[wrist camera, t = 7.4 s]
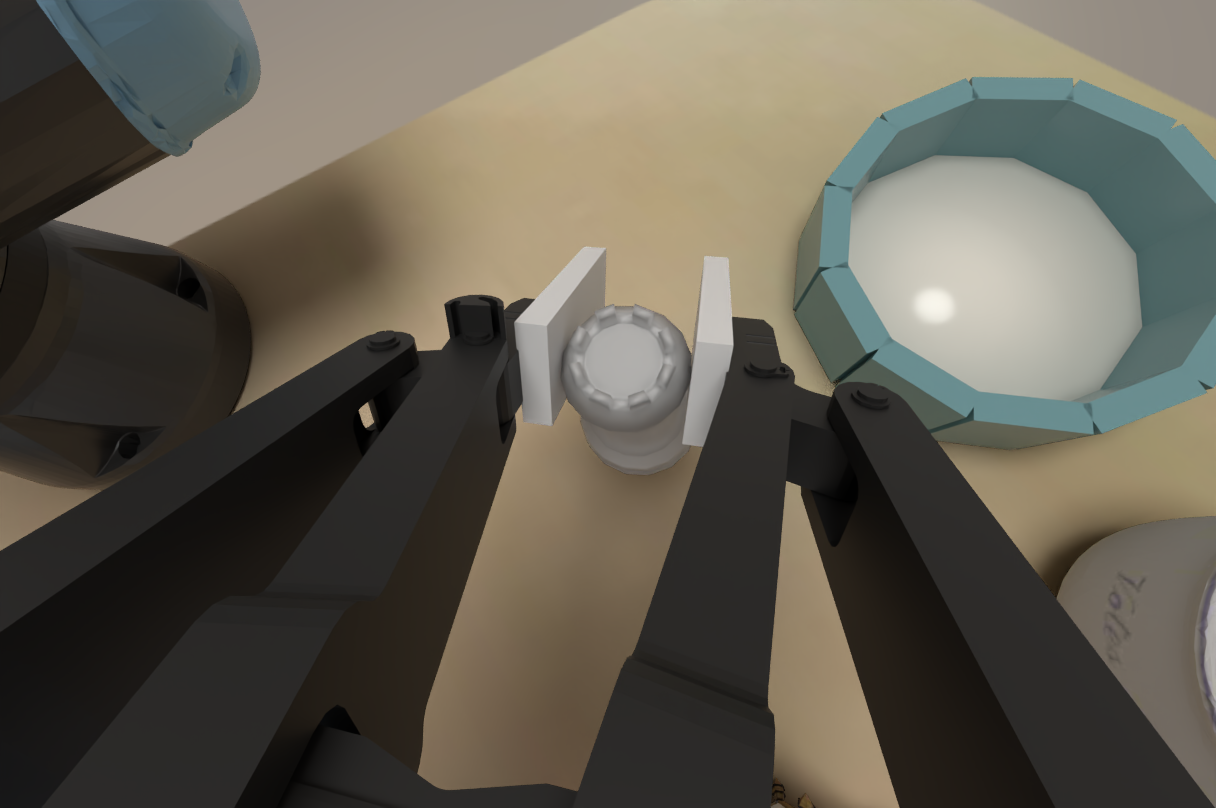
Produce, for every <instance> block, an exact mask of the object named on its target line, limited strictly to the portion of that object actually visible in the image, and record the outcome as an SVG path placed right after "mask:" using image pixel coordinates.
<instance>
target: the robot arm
mask: <svg viewBox="0 0 1216 808" xmlns="http://www.w3.org/2000/svg"><path fill="white" fill-rule="evenodd" d="M260 72H261V71H260V59H259V53H258V49H257V45H256V41H255V38H254V35H253V32H252V30H251V27H250V25H249V22H248V20H247V18H246V15H245V13H244V11H243V9H242V6H241V4H240V2H239V0H0V471H3V472H6V473H9V474H12V475H15V476H18V477H22V478H25V479H28V480H31V481H34V482H37V483H40V484H44V485H48V486H54V487H60V488H71V489H93V490H103V491H101V492H100V493H98V494H96V495H95V496H93V497H91V498H89V499H88V500H86V501H84V502H83V503H81V504H79V505H78V506H76V507H74V508H72V509H71V510H69V511H67V512H66V513H64V514H62V515H61V516H59V517H57V518H55V519H54V520H52V521H50V522H49V523H47V524H45V525H44V526H42V527H40V528H38V529H37V530H35V531H33V532H32V533H30V534H28V535H27V536H25V537H23V538H22V539H20V540H18V541H16V542H15V543H13V544H11V545H10V546H8V547H6V548H5V549H3V550H1V551H0V808H771V798H772V783H773V768H774V750H775V724H774V714H773V713H772V712H771V710H770V709H769V708H768V684H769V672H770V660H771V649H772V637H773V625H774V614H775V602H776V591H777V579H778V567H779V556H780V544H781V532H782V521H783V509H784V497H785V486H786V481H788V482H791V483H794V484H797V485H799V486H801V496H802V499H803V502H804V505H805V509H806V512H807V515H808V518H809V521H810V524H811V528H812V531H813V534H814V537H815V540H816V544H817V547H818V550H819V553H820V556H821V559H822V563H823V566H824V569H825V572H826V575H827V578H828V582H829V585H830V588H831V591H832V594H833V598H834V601H835V604H836V607H837V610H838V613H839V617H840V620H841V623H842V626H843V629H844V633H845V636H846V639H847V642H848V645H849V648H850V652H851V655H852V658H853V661H854V664H855V667H856V671H857V674H858V677H859V680H860V683H861V687H862V690H863V693H864V696H865V699H866V702H867V706H868V709H869V712H870V715H871V718H872V721H873V725H874V728H875V731H876V734H877V737H878V741H879V744H880V747H881V750H882V753H883V756H884V760H885V763H886V766H887V769H888V772H889V775H890V779H891V782H892V785H893V788H894V791H895V795H896V798H897V801H898V804H899V807H900V808H1215V807H1214V806H1213V804H1212V803H1211V802H1210V800H1209V799H1208V798H1207V796H1206V795H1205V794H1204V792H1203V791H1202V790H1201V788H1200V787H1199V786H1198V785H1197V783H1196V782H1195V781H1194V779H1193V778H1192V777H1191V775H1190V774H1189V773H1188V771H1187V770H1186V769H1185V767H1184V766H1183V765H1182V764H1181V762H1180V761H1179V760H1178V758H1177V757H1176V756H1175V754H1174V753H1173V752H1172V750H1171V749H1170V748H1169V746H1168V745H1167V744H1166V742H1165V741H1164V740H1163V739H1162V737H1161V736H1160V735H1159V733H1158V732H1157V731H1156V729H1155V728H1154V727H1153V725H1152V724H1151V723H1150V721H1149V720H1148V719H1147V717H1146V716H1145V715H1144V714H1143V712H1142V711H1141V710H1140V708H1139V707H1138V706H1137V704H1136V703H1135V702H1134V700H1133V699H1132V698H1131V696H1130V695H1129V694H1128V692H1127V691H1126V690H1125V689H1124V687H1123V686H1122V685H1121V683H1120V682H1119V681H1118V679H1117V678H1116V677H1115V675H1114V674H1113V673H1112V671H1111V670H1110V669H1109V668H1108V666H1107V665H1106V664H1105V662H1104V661H1103V660H1102V658H1101V657H1100V656H1099V654H1098V653H1097V652H1096V650H1095V649H1094V648H1093V646H1092V645H1091V644H1090V643H1089V641H1088V640H1087V639H1086V637H1085V636H1084V635H1083V633H1082V632H1081V631H1080V629H1079V628H1078V627H1077V625H1076V624H1075V623H1074V621H1073V620H1072V619H1071V618H1070V616H1069V615H1068V614H1067V612H1066V611H1065V610H1064V608H1063V607H1062V606H1061V604H1060V603H1059V602H1058V600H1057V599H1056V598H1055V596H1054V595H1053V594H1052V593H1051V591H1050V590H1049V589H1048V587H1047V586H1046V585H1045V583H1044V582H1043V581H1042V579H1041V578H1040V577H1039V575H1038V574H1037V573H1036V572H1035V570H1034V569H1033V568H1032V566H1031V565H1030V564H1029V562H1028V561H1027V560H1026V558H1025V557H1024V556H1023V554H1022V553H1021V552H1020V550H1019V549H1018V548H1017V547H1016V545H1015V544H1014V543H1013V541H1012V540H1011V539H1010V537H1009V536H1008V535H1007V533H1006V532H1005V531H1004V529H1003V528H1002V527H1001V525H1000V524H999V523H998V522H997V520H996V519H995V518H994V516H993V515H992V514H991V512H990V511H989V510H988V508H987V507H986V506H985V504H984V503H983V502H982V500H981V499H980V498H979V497H978V495H977V494H976V493H975V491H974V490H973V489H972V487H971V486H970V485H969V483H968V482H967V481H966V479H965V478H964V477H963V476H962V474H961V473H960V472H959V470H958V469H957V468H956V466H955V465H954V464H953V462H952V461H951V460H950V458H949V457H948V456H947V454H946V453H945V452H944V451H943V449H942V448H941V447H940V445H939V444H938V443H937V441H936V440H935V439H934V437H933V436H932V435H931V433H930V432H929V431H928V429H927V428H926V427H925V426H924V424H923V423H922V422H921V420H920V419H919V418H918V416H917V415H916V414H915V412H914V411H913V410H912V408H911V407H910V406H909V404H908V403H907V402H906V401H905V400H904V399H903V398H902V397H901V396H899V395H898V394H896V393H894V392H892V391H891V390H889V389H888V388H886V387H884V386H881V385H879V386H878V384H874V383H864V382H846V383H842V384H839V385H838V386H837V387H836V388H835V389H834V392H833V395H832V397H829V396H825V395H821V394H818V393H814V392H812V391H809V390H806V389H803V388H801V387H799V386H797V385H796V384H794V381H795V375H794V372H793V370H792V369H791V368H790V367H788V366H787V365H786V364H784V363H782V362H781V360H780V356H779V351H778V347H777V346H776V345H777V343H776V339H775V335H774V330H773V328H772V327H771V326H770V325H769V324H768V323H766V322H765V321H764V320H760V319H749V318H739V317H732V311H731V294H730V277H729V260H728V258H726V257H713V256H705V257H704V264H703V271H702V279H701V286H700V294H699V301H698V308H697V316H696V323H695V330H694V339H693V348H692V362H691V379H690V385H689V387H688V395H687V404H686V413H685V423H684V432H683V441H682V444H685V445H693V446H700V447H703V449H702V452H701V455H700V458H699V461H698V464H697V467H696V470H695V473H694V476H693V479H692V482H691V485H690V488H689V491H688V494H687V497H686V500H685V503H684V506H683V509H682V512H681V515H680V518H679V521H678V524H677V527H676V530H675V533H674V536H673V539H672V542H671V545H670V548H669V551H668V554H667V557H666V559H665V562H664V565H663V568H662V571H661V574H660V577H659V580H658V583H657V586H656V589H655V592H654V595H653V598H652V601H651V604H650V607H649V610H648V613H647V616H646V619H645V622H644V625H643V628H642V631H641V634H640V637H639V640H638V643H637V645H636V648H635V650H634V652H633V654H632V655H631V656H629V657H628V658H627V659H626V661H625V663H624V665H623V667H622V669H621V672H620V674H619V677H618V679H617V682H616V685H615V687H614V690H613V693H612V696H611V699H610V701H609V704H608V707H607V710H606V713H605V716H604V719H603V721H602V724H601V727H600V730H599V733H598V736H597V739H596V741H595V744H594V747H593V750H592V753H591V756H590V759H589V761H588V764H587V767H586V770H585V773H584V776H583V779H582V782H581V784H580V787H579V790H578V792H577V791H573V790H569V789H565V788H562V787H558V786H554V785H550V784H534V785H520V786H505V787H491V788H477V789H463V790H443V789H439V788H437V787H435V786H433V785H432V784H430V783H429V782H428V781H426V780H425V779H423V778H422V777H421V776H419V775H418V774H417V772H418V768H419V764H420V758H421V752H422V745H423V721H424V715H425V709H426V706H427V702H428V698H429V695H430V692H431V689H432V686H433V683H434V680H435V677H436V674H437V671H438V668H439V665H440V662H441V659H442V656H443V653H444V650H445V647H446V643H447V640H448V637H449V634H450V631H451V628H452V625H453V622H454V619H455V616H456V613H457V610H458V607H459V604H460V601H461V598H462V595H463V592H464V589H465V585H466V582H467V579H468V576H469V573H470V570H471V567H472V564H473V561H474V558H475V555H476V552H477V549H478V546H479V543H480V540H481V537H482V534H483V531H484V528H485V524H486V521H487V518H488V515H489V512H490V509H491V506H492V503H493V500H494V497H495V494H496V491H497V488H498V485H499V482H500V479H501V476H502V473H503V470H504V467H505V463H506V460H507V457H508V454H509V451H510V448H511V445H512V442H513V439H514V436H515V433H516V419H515V413H516V412H517V410H518V409H519V407H520V405H521V404H522V411H523V422H527V423H534V424H541V425H548V426H552V425H553V423H554V421H555V419H556V418H557V416H558V414H559V412H560V410H561V408H562V406H563V404H564V402H565V400H566V398H567V396H566V393H565V390H564V387H563V384H562V381H561V378H560V377H561V365H562V356H563V352H564V350H565V348H566V346H567V344H568V342H569V340H570V338H571V336H572V334H573V332H574V331H575V330H576V329H577V327H578V325H579V326H581V325H582V324H583V323H584V322H585V321H586V320H587V319H589V318H590V317H591V316H592V315H594V314H595V313H594V311H596V310H599V309H602V308H604V307H605V277H606V248H597V247H583V248H582V249H581V250H580V252H579V253H578V254H577V255H576V256H575V257H574V258H573V259H572V260H571V261H570V262H569V263H568V265H567V266H566V267H565V268H564V269H563V270H562V271H561V272H560V273H559V274H558V275H557V276H556V278H555V279H554V280H553V281H552V282H551V283H550V284H549V285H548V286H547V287H546V288H545V289H544V291H543V292H542V293H541V294H540V295H539V296H538V297H537V298H536V299H528V298H523V299H521V300H518V301H516V302H514V303H511V304H510V305H509V306H508V307H507V308H506V309H505V310H504V304H503V301H502V300H500V299H499V298H496V297H493V296H488V295H468V296H462V297H458V298H455V299H452V300H450V301H448V302H447V303H445V304H444V305H445V311H446V317H447V322H448V328H449V334H450V339H449V340H448V342H447V343H446V344H445V346H444V347H443V348H442V350H431V351H417V348H416V344H415V340H414V337H412V336H411V335H410V334H407V333H404V332H394V331H386V332H385V331H380V332H377V333H376V334H372V335H368V336H366V337H364V338H362V339H359V340H358V341H356V342H354V343H353V344H351V345H349V346H347V347H346V348H344V349H342V350H341V351H339V352H337V353H336V354H334V355H332V356H330V357H329V358H327V359H325V360H324V361H322V362H320V363H319V364H317V365H315V366H314V367H312V368H310V369H308V370H307V371H305V372H303V373H302V374H300V375H298V376H297V377H295V378H293V379H291V380H290V381H288V382H286V383H285V384H283V385H281V386H280V387H278V388H276V389H274V390H273V391H271V392H269V393H268V394H266V395H264V396H263V397H261V398H259V399H257V400H256V401H254V402H252V403H251V404H249V405H247V406H246V407H244V408H242V409H241V410H239V411H237V412H235V413H234V414H232V415H230V416H229V417H228V415H229V413H230V411H231V410H232V408H233V406H234V404H235V402H236V400H237V398H238V396H239V393H240V391H241V388H242V385H243V383H244V379H245V376H246V373H247V368H248V363H249V357H250V345H251V337H250V326H249V320H248V316H247V312H246V309H245V307H244V304H243V302H242V300H241V298H240V296H239V294H238V293H237V291H236V290H235V288H234V287H233V286H232V284H231V283H230V282H229V281H228V280H227V279H226V278H225V277H223V276H222V275H221V274H220V273H218V272H217V271H215V270H213V269H212V268H210V267H208V266H206V265H204V264H202V263H200V262H198V261H196V260H195V259H193V258H191V257H189V256H187V255H185V254H183V253H181V252H179V251H177V250H174V249H172V248H169V247H166V246H163V245H159V244H155V243H150V242H146V241H142V240H138V239H133V238H129V237H124V236H120V235H116V234H112V233H107V232H103V231H99V230H95V229H90V228H86V227H82V226H77V225H73V224H68V223H64V222H59V221H56V220H53V219H55V218H57V217H59V216H60V215H62V214H64V213H66V212H67V211H69V210H71V209H73V208H75V207H77V206H78V205H80V204H82V203H84V202H86V201H87V200H89V199H91V198H93V197H95V196H97V195H99V194H100V193H102V192H104V191H106V190H108V189H110V188H111V187H113V186H115V185H117V184H119V183H120V182H122V181H124V180H126V179H128V178H129V177H131V176H133V175H135V174H137V173H138V172H140V171H142V170H144V169H146V168H148V167H150V166H151V165H153V164H155V163H157V162H159V161H160V160H162V159H164V158H166V157H168V156H170V155H173V156H176V157H178V156H181V155H183V154H185V153H186V152H187V151H188V150H189V149H190V148H191V147H192V142H193V140H194V139H195V138H197V137H198V136H199V135H201V134H202V133H203V132H205V131H206V130H208V129H210V128H211V127H213V126H214V125H216V124H217V123H219V122H220V121H222V120H223V119H225V118H226V117H228V116H229V115H231V114H232V113H234V112H235V111H237V110H239V109H240V108H242V107H243V106H244V105H245V104H247V103H248V102H249V101H250V100H251V99H252V97H253V96H254V94H255V92H256V90H257V88H258V84H259V80H260ZM367 402H368V404H369V407H370V410H371V413H372V417H373V420H374V423H373V424H372V425H370V426H369V427H367V428H365V427H364V425H363V423H362V420H361V417H360V414H359V411H358V410H359V409H360V408H361V407H362V406H363V405H364V404H366V403H367Z"/></svg>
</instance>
